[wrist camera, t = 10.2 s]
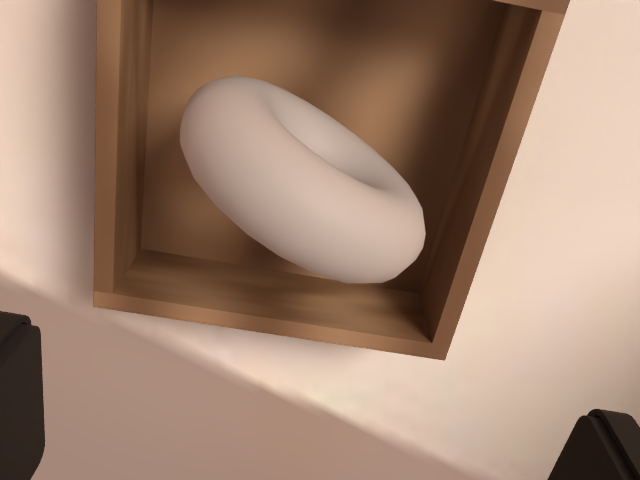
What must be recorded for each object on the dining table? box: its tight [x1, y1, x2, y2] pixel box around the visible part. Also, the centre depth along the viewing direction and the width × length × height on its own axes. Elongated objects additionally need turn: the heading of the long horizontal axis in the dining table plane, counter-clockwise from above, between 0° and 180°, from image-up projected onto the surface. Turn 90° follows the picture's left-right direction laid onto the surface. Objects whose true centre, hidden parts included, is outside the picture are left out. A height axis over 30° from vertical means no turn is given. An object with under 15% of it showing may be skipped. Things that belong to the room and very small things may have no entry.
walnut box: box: [93, 0, 570, 360], centre depth 24 cm, size 16×16×5 cm
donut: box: [180, 75, 426, 284], centre depth 21 cm, size 10×3×10 cm, turn 56°
